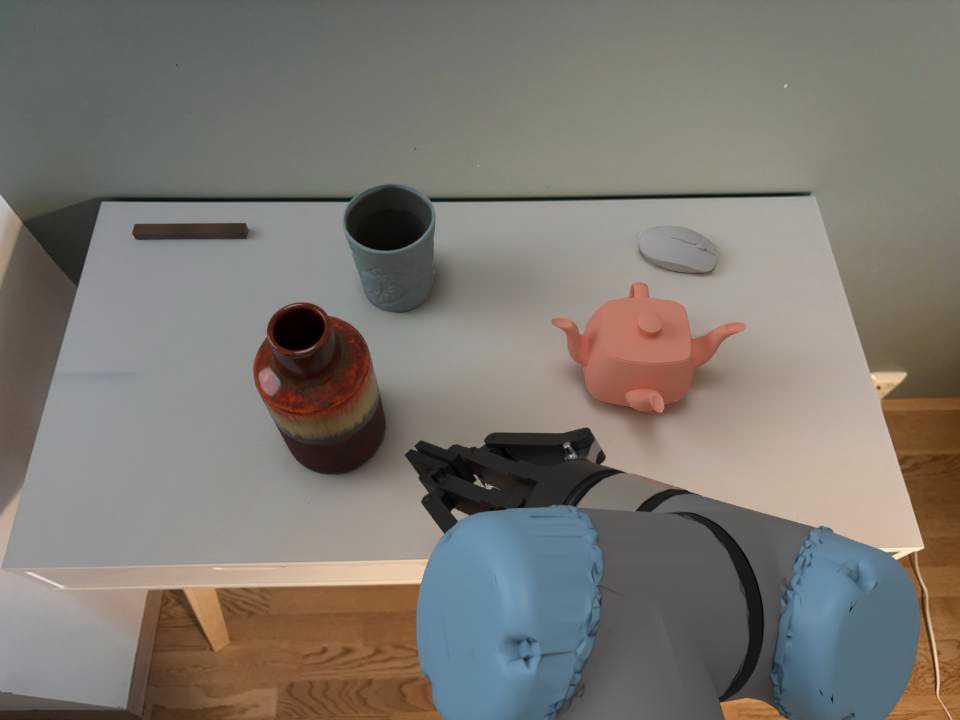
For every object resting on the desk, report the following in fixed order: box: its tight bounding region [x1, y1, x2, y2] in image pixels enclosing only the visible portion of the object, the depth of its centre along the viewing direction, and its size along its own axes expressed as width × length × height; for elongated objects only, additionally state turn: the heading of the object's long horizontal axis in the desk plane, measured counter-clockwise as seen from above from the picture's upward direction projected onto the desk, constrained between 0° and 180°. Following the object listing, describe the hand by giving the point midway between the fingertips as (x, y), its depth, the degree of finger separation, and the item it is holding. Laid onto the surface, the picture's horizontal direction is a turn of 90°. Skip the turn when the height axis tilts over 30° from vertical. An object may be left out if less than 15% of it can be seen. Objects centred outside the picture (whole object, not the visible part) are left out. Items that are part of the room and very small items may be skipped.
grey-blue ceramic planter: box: [341, 182, 437, 313], centre depth 85 cm, size 10×10×12 cm
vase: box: [252, 301, 387, 475], centre depth 71 cm, size 11×11×20 cm
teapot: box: [550, 281, 748, 414], centre depth 79 cm, size 14×14×11 cm
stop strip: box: [131, 222, 249, 240], centre depth 93 cm, size 14×2×1 cm, turn 91°
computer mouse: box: [638, 225, 718, 274], centre depth 91 cm, size 6×10×3 cm, turn 77°
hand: (421, 459), depth 61 cm, fingers closed
